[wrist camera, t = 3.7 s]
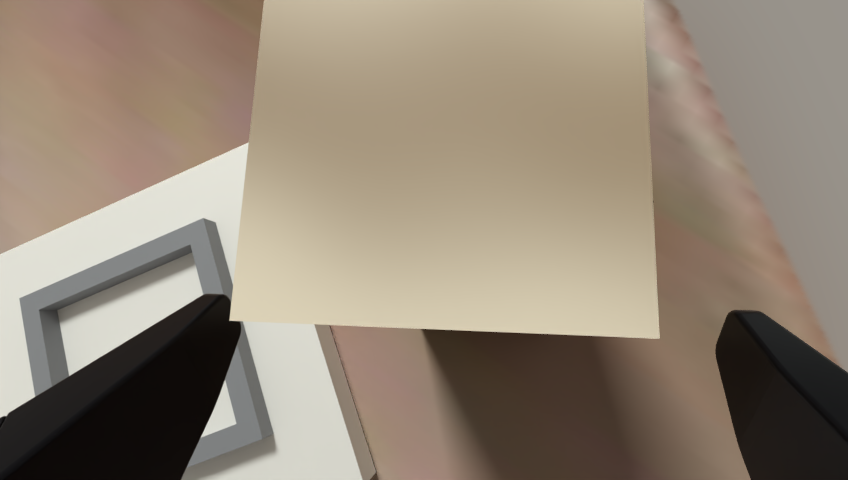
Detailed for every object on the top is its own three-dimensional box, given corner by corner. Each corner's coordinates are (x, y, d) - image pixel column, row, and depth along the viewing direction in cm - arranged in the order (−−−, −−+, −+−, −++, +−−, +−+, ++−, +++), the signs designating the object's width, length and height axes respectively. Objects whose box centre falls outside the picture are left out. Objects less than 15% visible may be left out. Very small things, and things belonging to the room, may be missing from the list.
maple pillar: (550, 329, 18) (660, 338, 5) (419, 323, 18) (229, 321, 6) (549, 199, 18) (639, -73, 6) (424, 200, 19) (267, -34, 7)
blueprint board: (376, 472, 18) (357, 493, 15) (62, 586, 19) (4, 620, 17) (273, 151, 21) (246, 131, 19) (12, 268, 22) (-44, 262, 20)
